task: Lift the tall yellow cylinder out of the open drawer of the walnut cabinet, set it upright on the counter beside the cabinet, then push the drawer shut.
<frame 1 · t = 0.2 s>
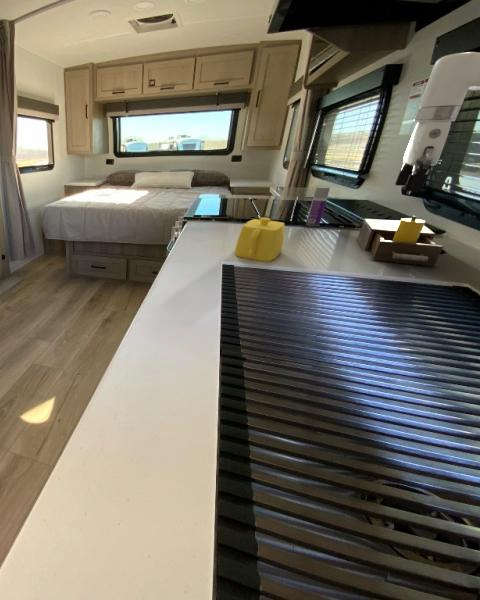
hand: (406, 188, 89), 21 cm above the worktop, tool pointing down, fingers open, 9 cm apart
cabinet: (387, 248, 109), on the worktop
yellow cylinder: (399, 253, 99), point 2 cm above the worktop, touching drawer
container: (312, 225, 137), on the worktop
drawer: (402, 248, 98), point 4 cm above the worktop, slide at 9.0 cm, touching yellow cylinder
teapot: (258, 253, 110), on the worktop
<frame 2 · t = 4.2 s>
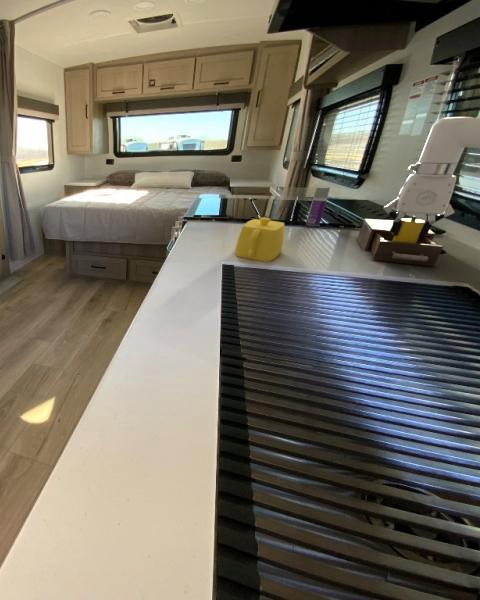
hand: (406, 235, 97), 8 cm above the worktop, tool pointing down, fingers closed on yellow cylinder, 5 cm apart
yellow cylinder: (399, 253, 99), point 2 cm above the worktop, touching drawer, gripper
everything else where it was.
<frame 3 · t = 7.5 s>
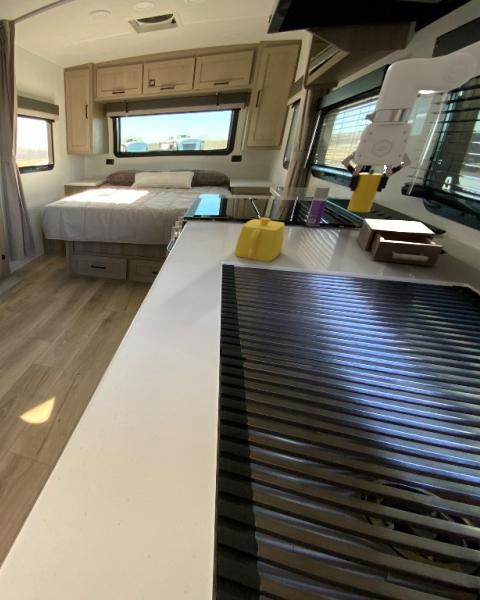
hand: (365, 190, 93), 20 cm above the worktop, tool pointing down, fingers closed on yellow cylinder, 5 cm apart
yellow cylinder: (358, 210, 96), point 15 cm above the worktop, touching gripper
drawer: (402, 248, 98), point 4 cm above the worktop, slide at 9.0 cm
everything else where it was.
when the fingers open (6 cm above the worktop, at t = 11.2 s): yellow cylinder stays where it is, on the worktop.
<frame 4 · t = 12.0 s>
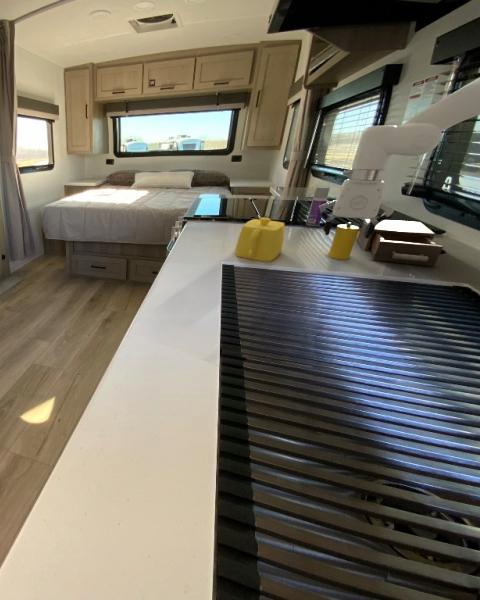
hand: (345, 235, 100), 7 cm above the worktop, tool pointing down, fingers open, 9 cm apart
yellow cylinder: (337, 258, 103), on the worktop
everything else where it was.
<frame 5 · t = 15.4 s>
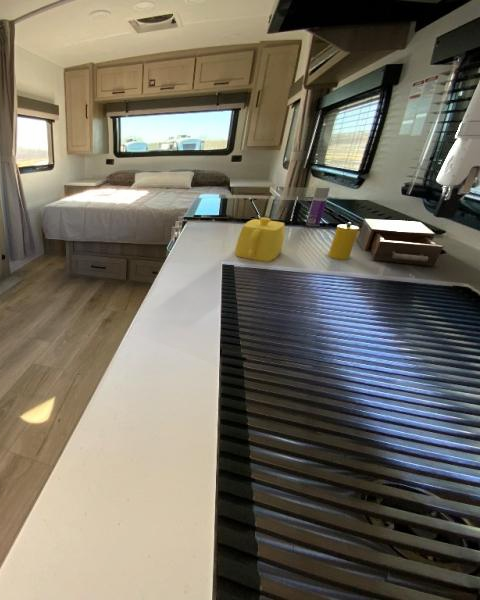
hand: (442, 216, 79), 17 cm above the worktop, tool pointing down, fingers closed
nothing on the worktop moved.
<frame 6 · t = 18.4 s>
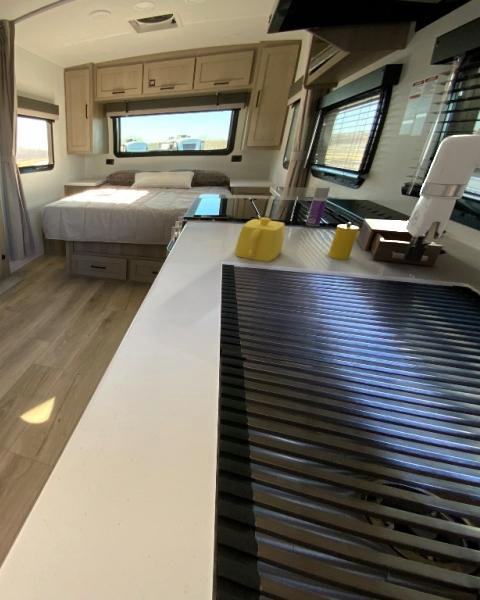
hand: (411, 260, 90), 4 cm above the worktop, tool pointing down, fingers closed
drawer: (402, 248, 98), point 4 cm above the worktop, slide at 8.7 cm, touching gripper
everything else where it was.
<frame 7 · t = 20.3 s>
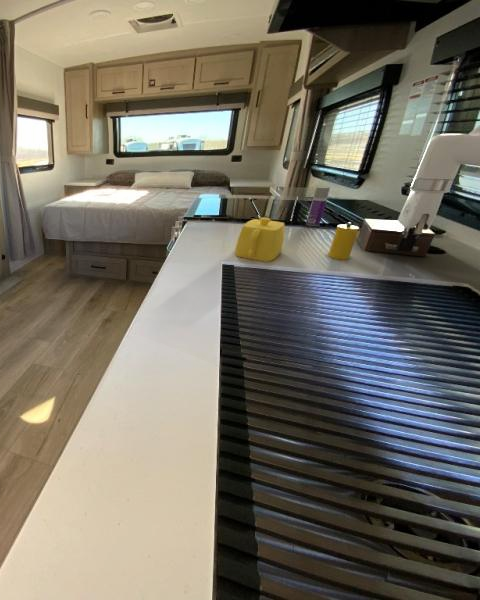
hand: (403, 250, 97), 4 cm above the worktop, tool pointing down, fingers closed
drawer: (395, 240, 105), point 4 cm above the worktop, slide at 0.0 cm, touching cabinet, gripper
everything else where it was.
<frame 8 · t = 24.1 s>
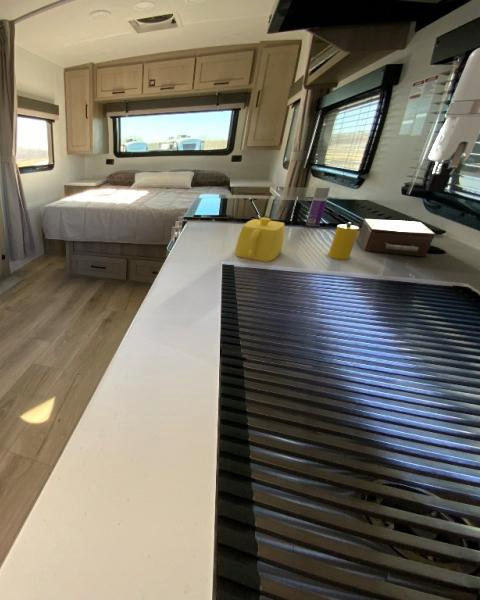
hand: (434, 190, 86), 21 cm above the worktop, tool pointing down, fingers closed
drawer: (395, 240, 105), point 4 cm above the worktop, slide at 0.0 cm, touching cabinet
everything else where it was.
at the end: yellow cylinder inside the target area (0.0 cm from its centre), on the worktop; yellow cylinder tilted 0°; drawer slide at 0.0 cm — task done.
